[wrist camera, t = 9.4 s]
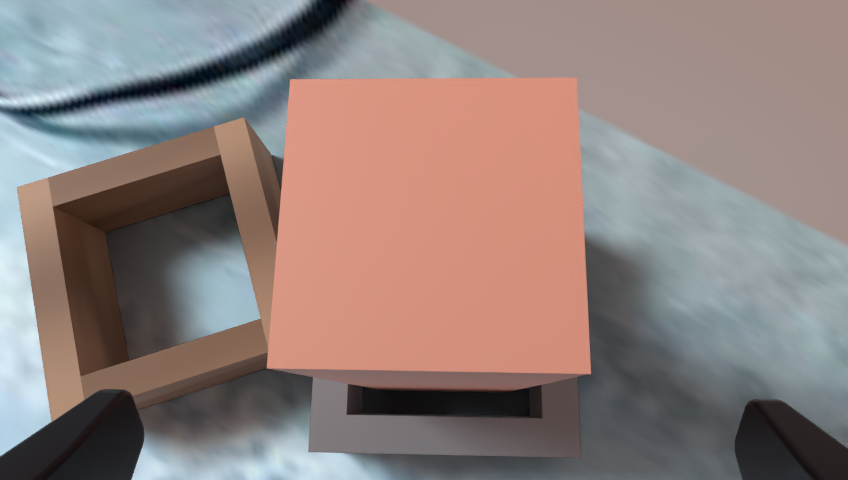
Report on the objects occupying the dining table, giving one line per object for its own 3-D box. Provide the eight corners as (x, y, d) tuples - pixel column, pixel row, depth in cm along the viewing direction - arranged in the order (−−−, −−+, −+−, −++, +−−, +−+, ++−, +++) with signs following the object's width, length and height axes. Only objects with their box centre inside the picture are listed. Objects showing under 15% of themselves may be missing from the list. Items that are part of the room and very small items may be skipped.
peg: (504, 392, 20) (591, 373, 8) (382, 390, 20) (266, 368, 8) (503, 271, 21) (576, 77, 9) (386, 270, 21) (290, 79, 9)
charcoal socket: (562, 449, 20) (581, 457, 17) (329, 445, 20) (308, 452, 17) (553, 224, 21) (569, 196, 19) (341, 223, 22) (323, 196, 19)
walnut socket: (323, 350, 21) (302, 341, 18) (108, 419, 20) (51, 421, 18) (271, 154, 23) (244, 117, 20) (73, 215, 22) (16, 187, 19)
